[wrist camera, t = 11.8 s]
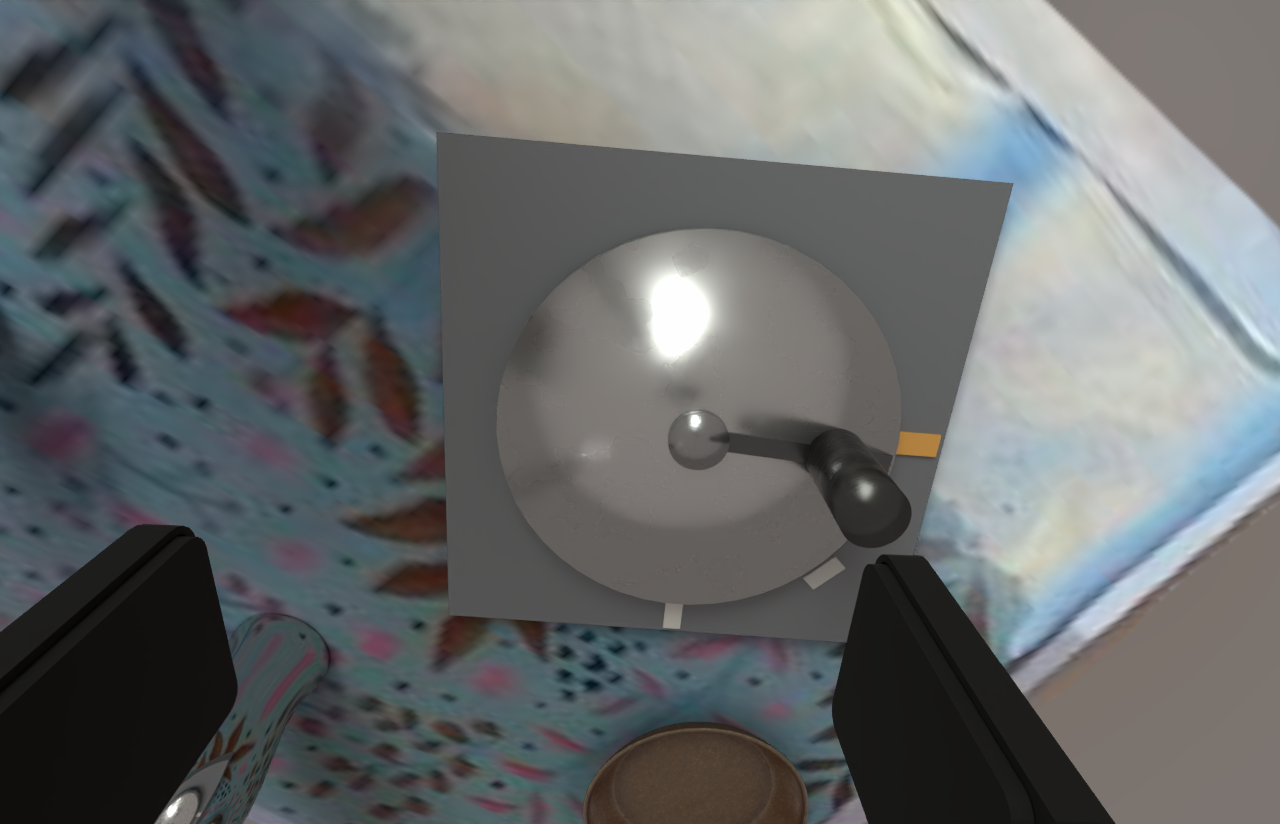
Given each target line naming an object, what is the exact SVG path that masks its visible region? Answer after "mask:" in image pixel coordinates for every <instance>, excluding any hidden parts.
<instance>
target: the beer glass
mask: <svg viewBox="0 0 1280 824" xmlns="http://www.w3.org/2000/svg"><path fill="white" fill-rule="evenodd" d="M228 643H229V647H230V652H231V656H232V660H233V665H234V669H235V673H236V678H237V683H238V692H237V697H236V701H235V704H234V706H233V708H232V710H231V712H230V714H229V715H228V716H227V718H226V719H225V721H224V722H223V724H222V725H221V727H220V728H219V730H218V731H217V732H216V734H215V735H214V737H213V738H212V740H211V741H210V743H209V744H208V746H207V747H206V749H205V750H204V751H203V753H202V754H201V756H200V757H199V759H198V760H197V762H196V763H195V765H194V766H193V768H192V769H191V770H190V772H189V773H188V775H187V776H186V778H185V779H184V781H183V782H182V784H181V785H180V786H179V788H178V789H177V791H176V792H175V794H174V795H173V797H172V798H171V800H170V801H169V803H168V804H167V805H166V807H165V808H164V810H163V811H162V813H161V814H160V816H159V817H158V819H157V820H156V822H155V823H154V824H243V823H244V822H245V820H246V818H247V817H248V815H249V813H250V811H251V808H252V806H253V804H254V802H255V800H256V798H257V795H258V793H259V791H260V789H261V787H262V784H263V782H264V779H265V777H266V774H267V772H268V769H269V767H270V765H271V762H272V759H273V757H274V754H275V752H276V749H277V747H278V744H279V742H280V739H281V737H282V734H283V732H284V730H285V727H286V725H287V724H288V722H289V720H290V718H291V716H292V715H293V713H294V712H295V710H296V709H297V707H298V706H299V705H300V704H301V703H302V701H303V700H304V699H305V698H306V697H307V696H308V695H309V694H310V693H311V692H312V691H313V690H314V689H315V688H316V687H317V685H318V684H319V683H320V682H321V681H322V679H323V678H324V677H325V675H326V673H327V670H328V667H329V653H328V649H327V647H326V645H325V643H324V641H323V640H322V638H321V637H320V636H319V635H318V633H317V632H316V631H315V630H313V629H312V628H311V627H310V626H308V625H307V624H305V623H303V622H302V621H300V620H297V619H295V618H292V617H289V616H285V615H280V614H262V615H258V616H254V617H252V618H249V619H247V620H246V621H244V622H243V623H242V624H240V625H239V626H238V627H237V628H236V629H235V631H234V632H233V634H232V635H231V637H230V638H229V640H228Z"/></svg>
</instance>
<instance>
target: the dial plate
mask: <svg viewBox="0 0 1280 824" xmlns="http://www.w3.org/2000/svg"><path fill="white" fill-rule="evenodd" d="M436 133H437V172H438V210H439V249H440V287H441V326H442V365H443V403H444V442H445V480H446V519H447V557H448V596H449V615H457V616H471V617H486V618H500V619H514V620H529V621H543V622H558V623H572V624H586V625H601V626H615V627H630V628H644V629H658V630H673V631H687V632H702V633H716V634H730V635H745V636H759V637H774V638H788V639H802V640H817V641H831V642H845V643H846V642H847V638H848V634H849V629H850V625H851V621H852V617H853V612H854V608H855V604H856V600H857V596H858V591H859V587H860V583H861V579H862V574H863V571H864V568H865V567H866V565H867V564H875V563H876V560H877V558H878V557H879V556H880V555H882V554H892V555H913V554H914V550H915V546H916V542H917V539H918V535H919V531H920V528H921V524H922V520H923V517H924V513H925V509H926V505H927V502H928V498H929V494H930V491H931V487H932V483H933V479H934V476H935V472H936V468H937V465H938V461H939V457H940V454H941V450H942V446H943V442H944V439H945V435H946V431H947V428H948V424H949V420H950V416H951V413H952V409H953V405H954V402H955V398H956V394H957V391H958V387H959V383H960V379H961V376H962V372H963V368H964V365H965V361H966V357H967V354H968V350H969V346H970V342H971V339H972V335H973V331H974V328H975V324H976V320H977V316H978V313H979V309H980V305H981V302H982V298H983V294H984V291H985V287H986V283H987V279H988V276H989V272H990V268H991V265H992V261H993V257H994V253H995V250H996V246H997V242H998V239H999V235H1000V231H1001V228H1002V224H1003V220H1004V216H1005V213H1006V209H1007V205H1008V202H1009V198H1010V194H1011V191H1012V187H1013V183H1003V182H992V181H980V180H969V179H958V178H947V177H935V176H924V175H913V174H902V173H890V172H879V171H868V170H857V169H846V168H834V167H823V166H812V165H801V164H789V163H778V162H767V161H756V160H744V159H733V158H722V157H711V156H699V155H688V154H677V153H666V152H654V151H643V150H632V149H621V148H609V147H598V146H587V145H576V144H564V143H553V142H542V141H531V140H519V139H508V138H497V137H486V136H474V135H463V134H452V133H441V132H436ZM698 227H711V228H723V229H735V230H739V231H743V232H748V233H752V234H757V235H761V236H764V237H767V238H769V239H772V240H775V241H777V242H780V243H783V244H785V245H788V246H790V247H792V248H793V249H795V250H797V251H799V252H801V253H802V254H804V255H806V256H808V257H810V258H812V259H813V260H815V261H817V262H819V263H820V264H821V265H823V266H824V267H825V268H827V269H828V270H829V271H831V272H832V273H833V274H835V275H836V276H837V277H839V278H840V279H841V280H842V281H843V282H844V283H845V284H846V285H847V286H848V287H849V288H850V289H851V290H852V291H853V292H854V293H855V294H856V295H857V296H858V297H859V298H860V300H861V301H862V302H863V304H864V305H865V306H866V308H867V309H868V311H869V312H870V313H871V315H872V316H873V317H874V319H875V320H876V322H877V324H878V326H879V328H880V330H881V332H882V334H883V335H884V337H885V339H886V341H887V343H888V346H889V349H890V352H891V355H892V358H893V360H894V363H895V366H896V371H897V376H898V381H899V387H900V393H901V427H900V437H899V443H898V447H897V452H896V456H895V460H894V464H893V467H892V469H891V472H890V474H889V476H890V477H891V478H892V479H893V481H894V482H895V483H896V485H897V486H898V487H899V488H900V490H901V491H902V492H903V493H904V495H905V496H906V497H907V498H908V500H909V502H910V505H911V510H912V515H911V520H910V523H909V526H908V528H907V529H906V531H905V532H904V533H903V534H902V535H901V536H900V537H899V538H898V539H897V540H895V541H894V542H892V543H890V544H888V545H886V546H882V547H878V548H864V547H860V546H857V545H854V544H853V543H851V542H850V541H848V540H847V541H846V542H845V543H844V544H843V545H842V546H841V547H840V548H839V549H838V550H837V551H835V552H834V553H833V554H832V555H831V556H829V557H828V558H827V559H826V560H825V561H824V562H822V563H821V564H819V565H818V566H816V567H815V568H813V569H812V570H810V571H809V572H807V573H806V574H804V575H802V576H800V577H798V578H796V579H794V580H792V581H791V582H789V583H787V584H785V585H783V586H780V587H778V588H775V589H772V590H770V591H767V592H765V593H762V594H759V595H755V596H751V597H748V598H744V599H740V600H736V601H729V602H722V603H716V604H697V605H685V604H671V603H662V602H657V601H651V600H646V599H641V598H638V597H634V596H631V595H628V594H624V593H621V592H618V591H616V590H614V589H611V588H609V587H607V586H604V585H602V584H600V583H598V582H596V581H594V580H592V579H591V578H589V577H587V576H586V575H584V574H582V573H580V572H579V571H577V570H576V569H574V568H573V567H572V566H570V565H569V564H568V563H566V562H565V561H564V560H562V559H561V558H560V557H559V556H558V555H557V554H556V553H554V552H553V551H552V550H551V549H550V548H549V547H548V546H547V545H546V544H545V543H544V542H543V541H542V540H541V538H540V537H539V536H538V535H537V534H536V532H535V531H534V530H533V529H532V527H531V526H530V525H529V524H528V522H527V520H526V519H525V517H524V516H523V514H522V512H521V511H520V509H519V507H518V506H517V504H516V502H515V500H514V498H513V495H512V493H511V491H510V489H509V486H508V484H507V482H506V478H505V475H504V471H503V468H502V464H501V461H500V456H499V449H498V442H497V404H498V397H499V390H500V384H501V381H502V378H503V374H504V371H505V367H506V364H507V361H508V358H509V356H510V354H511V352H512V350H513V348H514V345H515V343H516V341H517V339H518V337H519V335H520V333H521V332H522V330H523V329H524V327H525V326H526V324H527V323H528V321H529V319H530V318H531V316H532V315H533V313H534V312H535V311H536V309H537V308H538V307H539V306H540V304H541V303H542V302H543V301H544V300H545V299H546V297H547V296H548V295H549V294H550V293H551V292H552V290H553V289H554V288H555V287H556V286H558V285H559V284H560V283H561V282H562V281H563V280H564V279H565V278H567V277H568V276H569V275H570V274H571V273H572V272H573V271H574V270H576V269H577V268H579V267H580V266H582V265H583V264H585V263H586V262H588V261H589V260H591V259H592V258H594V257H595V256H597V255H599V254H601V253H603V252H605V251H607V250H609V249H611V248H613V247H615V246H617V245H619V244H621V243H623V242H626V241H629V240H633V239H636V238H639V237H642V236H645V235H648V234H651V233H657V232H662V231H667V230H673V229H678V228H698Z"/></svg>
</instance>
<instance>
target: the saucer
mask: <svg viewBox="0 0 1280 824" xmlns="http://www.w3.org/2000/svg"><path fill="white" fill-rule="evenodd" d="M808 810H809V807H808V796H807V791H806V788H805V785H804V782H803V780H802V778H801V776H800V774H799V773H798V771H797V770H796V768H795V767H794V766H793V764H792V763H791V762H790V761H789V760H788V759H787V758H786V757H785V756H784V755H782V754H781V753H780V752H779V751H778V750H776V749H775V748H774V747H772V746H771V745H770V744H768V743H767V742H765V741H764V740H762V739H760V738H758V737H756V736H754V735H752V734H750V733H748V732H746V731H743V730H740V729H737V728H734V727H731V726H726V725H722V724H716V723H707V722H688V723H679V724H673V725H669V726H665V727H661V728H658V729H655V730H652V731H650V732H648V733H646V734H643V735H641V736H640V737H638V738H636V739H634V740H632V741H631V742H629V743H628V744H626V745H625V746H623V747H622V748H621V749H619V750H618V751H617V752H616V753H615V754H614V755H613V756H612V757H611V758H610V759H609V760H608V761H607V762H606V763H605V764H604V765H603V767H602V768H601V769H600V770H599V771H598V773H597V774H596V775H595V777H594V778H593V780H592V782H591V783H590V785H589V787H588V790H587V792H586V795H585V799H584V805H583V820H584V824H806V822H807V818H808Z"/></svg>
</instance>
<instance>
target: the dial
mask: <svg viewBox="0 0 1280 824" xmlns="http://www.w3.org/2000/svg"><path fill="white" fill-rule="evenodd" d="M900 427H901V393H900V387H899V381H898V376H897V371H896V366H895V363H894V360H893V358H892V355H891V352H890V349H889V346H888V343H887V341H886V339H885V337H884V335H883V334H882V332H881V330H880V328H879V326H878V324H877V322H876V320H875V319H874V317H873V316H872V315H871V313H870V312H869V311H868V309H867V308H866V306H865V305H864V304H863V302H862V301H861V300H860V298H859V297H858V296H857V295H856V294H855V293H854V292H853V291H852V290H851V289H850V288H849V287H848V286H847V285H846V284H845V283H844V282H843V281H842V280H841V279H840V278H839V277H837V276H836V275H835V274H833V273H832V272H831V271H829V270H828V269H827V268H825V267H824V266H823V265H821V264H820V263H819V262H817V261H815V260H813V259H812V258H810V257H808V256H806V255H804V254H802V253H801V252H799V251H797V250H795V249H793V248H792V247H790V246H788V245H785V244H783V243H780V242H777V241H775V240H772V239H769V238H767V237H764V236H761V235H757V234H752V233H748V232H743V231H739V230H735V229H723V228H711V227H698V228H678V229H673V230H667V231H662V232H657V233H651V234H648V235H645V236H642V237H639V238H636V239H633V240H629V241H626V242H623V243H621V244H619V245H617V246H615V247H613V248H611V249H609V250H607V251H605V252H603V253H601V254H599V255H597V256H595V257H594V258H592V259H591V260H589V261H588V262H586V263H585V264H583V265H582V266H580V267H579V268H577V269H576V270H574V271H573V272H572V273H571V274H570V275H569V276H568V277H567V278H565V279H564V280H563V281H562V282H561V283H560V284H559V285H558V286H556V287H555V288H554V289H553V290H552V292H551V293H550V294H549V295H548V296H547V297H546V299H545V300H544V301H543V302H542V303H541V304H540V306H539V307H538V308H537V309H536V311H535V312H534V313H533V315H532V316H531V318H530V319H529V321H528V323H527V324H526V326H525V327H524V329H523V330H522V332H521V333H520V335H519V337H518V339H517V341H516V343H515V345H514V348H513V350H512V352H511V354H510V356H509V358H508V361H507V364H506V367H505V371H504V374H503V378H502V381H501V384H500V390H499V397H498V404H497V442H498V449H499V456H500V461H501V464H502V468H503V471H504V475H505V478H506V482H507V484H508V486H509V489H510V491H511V493H512V495H513V498H514V500H515V502H516V504H517V506H518V507H519V509H520V511H521V512H522V514H523V516H524V517H525V519H526V520H527V522H528V524H529V525H530V526H531V527H532V529H533V530H534V531H535V532H536V534H537V535H538V536H539V537H540V538H541V540H542V541H543V542H544V543H545V544H546V545H547V546H548V547H549V548H550V549H551V550H552V551H553V552H554V553H556V554H557V555H558V556H559V557H560V558H561V559H562V560H564V561H565V562H566V563H568V564H569V565H570V566H572V567H573V568H574V569H576V570H577V571H579V572H580V573H582V574H584V575H586V576H587V577H589V578H591V579H592V580H594V581H596V582H598V583H600V584H602V585H604V586H607V587H609V588H611V589H614V590H616V591H618V592H621V593H624V594H628V595H631V596H634V597H638V598H641V599H646V600H651V601H657V602H662V603H671V604H685V605H697V604H716V603H722V602H729V601H736V600H740V599H744V598H748V597H751V596H755V595H759V594H762V593H765V592H767V591H770V590H772V589H775V588H778V587H780V586H783V585H785V584H787V583H789V582H791V581H792V580H794V579H796V578H798V577H800V576H802V575H804V574H806V573H807V572H809V571H810V570H812V569H813V568H815V567H816V566H818V565H819V564H821V563H822V562H824V561H825V560H826V559H827V558H828V557H829V556H831V555H832V554H833V553H834V552H835V551H837V550H838V549H839V548H840V547H841V546H842V545H843V544H844V543H845V542H846V541H847V540H848V541H850V542H851V543H853V544H854V545H857V546H860V547H864V548H878V547H882V546H886V545H888V544H890V543H892V542H894V541H895V540H897V539H898V538H899V537H900V536H901V535H902V534H903V533H904V532H905V531H906V529H907V528H908V526H909V523H910V520H911V515H912V510H911V505H910V502H909V500H908V498H907V497H906V496H905V495H904V493H903V492H902V491H901V490H900V488H899V487H898V486H897V485H896V483H895V482H894V481H893V479H892V478H891V477H890V476H889V474H890V472H891V469H892V467H893V464H894V460H895V456H896V452H897V447H898V443H899V437H900Z"/></svg>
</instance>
